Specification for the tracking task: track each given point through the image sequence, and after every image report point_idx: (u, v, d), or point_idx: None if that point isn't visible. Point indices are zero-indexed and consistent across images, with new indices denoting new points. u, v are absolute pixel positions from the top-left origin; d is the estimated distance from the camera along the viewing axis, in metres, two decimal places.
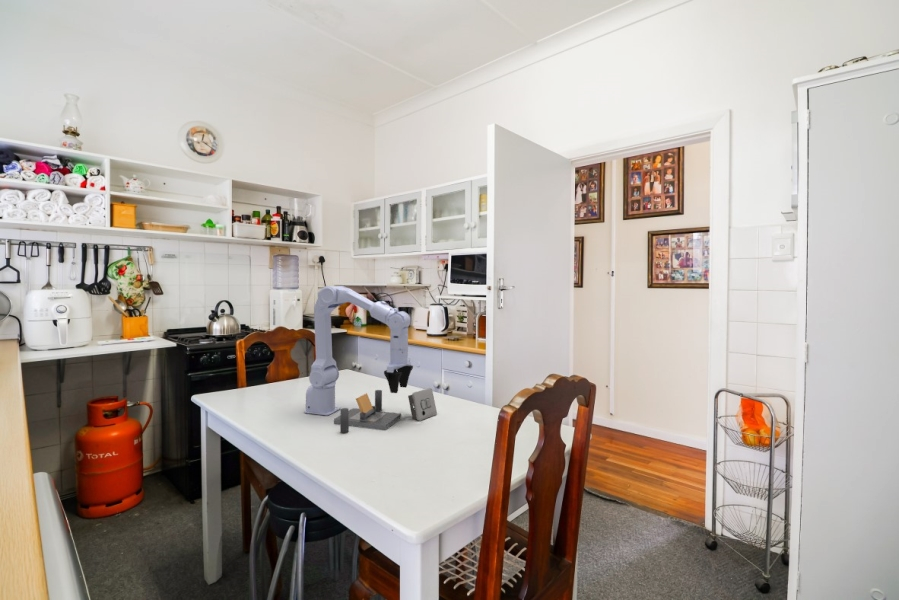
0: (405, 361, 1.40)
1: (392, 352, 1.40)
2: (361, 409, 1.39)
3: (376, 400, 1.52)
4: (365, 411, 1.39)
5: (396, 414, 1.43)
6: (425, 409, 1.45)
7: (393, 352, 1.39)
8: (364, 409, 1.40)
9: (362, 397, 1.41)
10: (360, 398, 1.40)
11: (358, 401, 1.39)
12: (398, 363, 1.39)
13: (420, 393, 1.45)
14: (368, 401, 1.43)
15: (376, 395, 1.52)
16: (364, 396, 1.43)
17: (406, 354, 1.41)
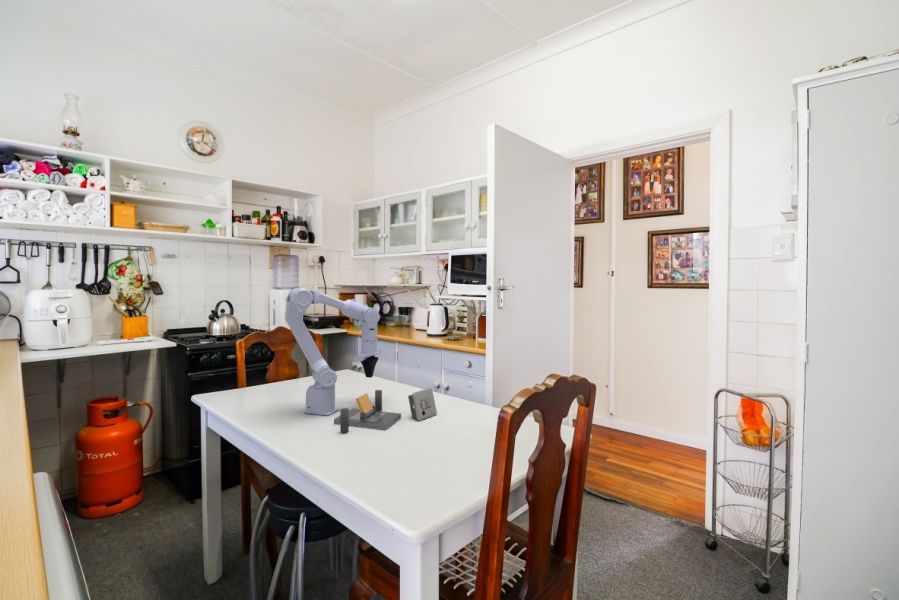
0: (374, 351, 1.57)
1: (363, 343, 1.56)
2: (361, 409, 1.39)
3: (376, 400, 1.52)
4: (365, 411, 1.39)
5: (396, 414, 1.43)
6: (425, 409, 1.45)
7: (363, 343, 1.56)
8: (364, 409, 1.40)
9: (362, 397, 1.41)
10: (360, 398, 1.40)
11: (358, 401, 1.39)
12: (368, 353, 1.55)
13: (420, 393, 1.45)
14: (368, 401, 1.43)
15: (376, 395, 1.52)
16: (364, 396, 1.43)
17: (375, 345, 1.57)
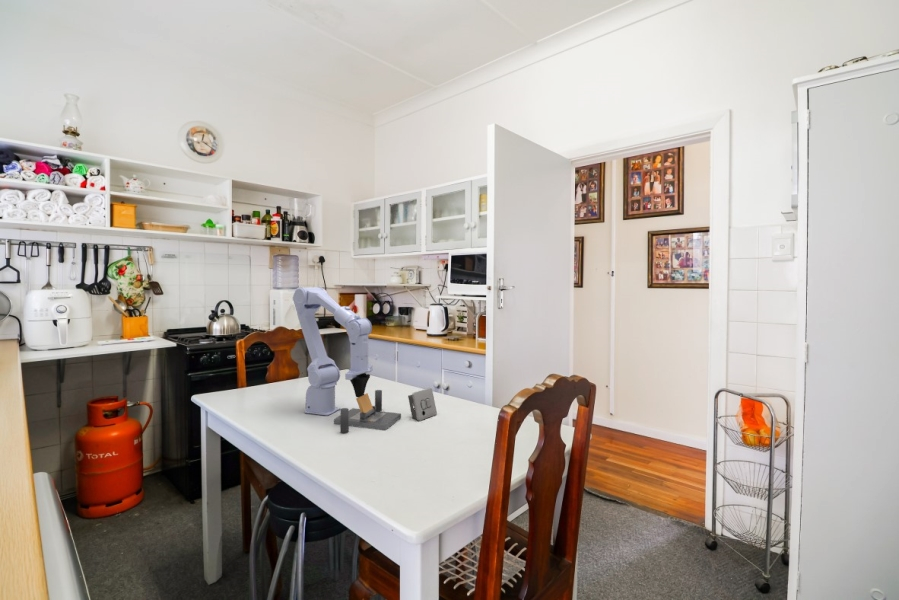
0: (365, 368, 1.40)
1: (352, 359, 1.39)
2: (361, 409, 1.39)
3: (376, 400, 1.52)
4: (365, 411, 1.39)
5: (396, 414, 1.43)
6: (425, 409, 1.45)
7: (353, 359, 1.39)
8: (364, 409, 1.40)
9: (362, 397, 1.41)
10: (360, 398, 1.40)
11: (358, 401, 1.39)
12: (358, 370, 1.39)
13: (420, 393, 1.45)
14: (368, 401, 1.43)
15: (376, 395, 1.52)
16: (364, 396, 1.42)
17: (366, 361, 1.40)
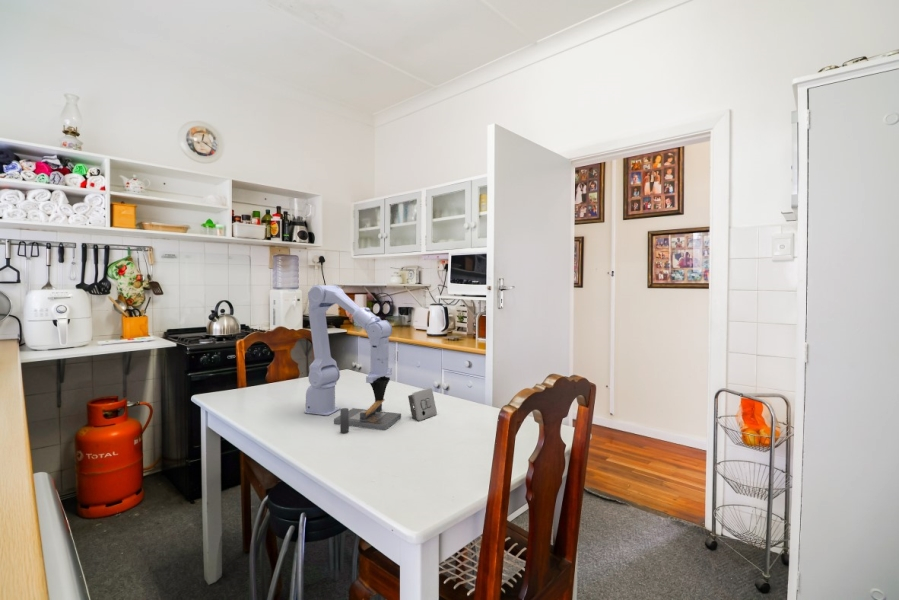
0: (385, 371, 1.38)
1: (372, 362, 1.37)
2: (368, 411, 1.38)
3: None
4: (368, 414, 1.39)
5: (396, 414, 1.43)
6: (425, 409, 1.45)
7: (373, 362, 1.37)
8: (369, 412, 1.39)
9: (379, 403, 1.40)
10: (377, 404, 1.38)
11: (373, 406, 1.37)
12: (378, 373, 1.37)
13: (420, 393, 1.45)
14: (378, 405, 1.42)
15: None
16: (380, 402, 1.41)
17: (386, 364, 1.38)
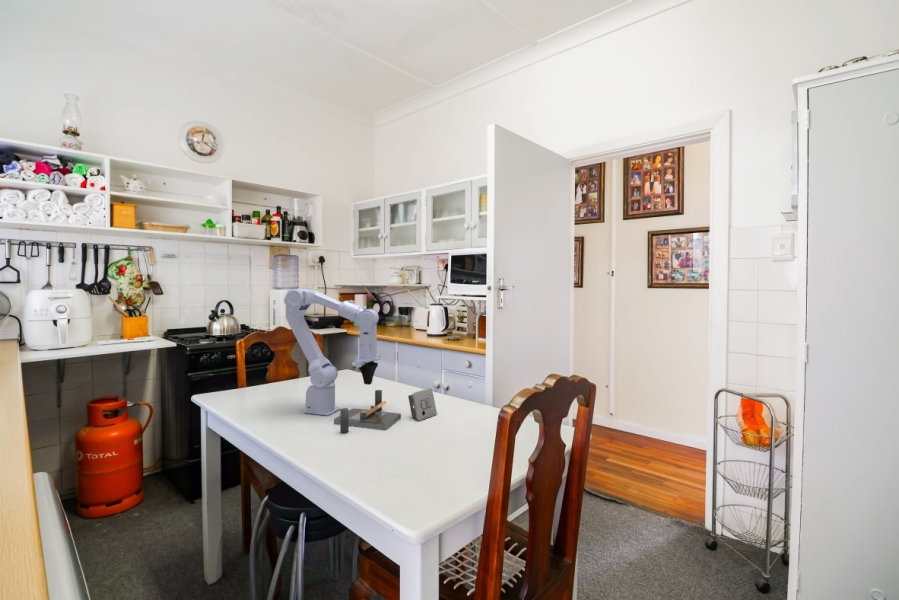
0: (373, 356, 1.46)
1: (361, 348, 1.46)
2: (369, 412, 1.38)
3: (376, 400, 1.52)
4: (368, 414, 1.39)
5: (396, 414, 1.43)
6: (425, 409, 1.45)
7: (362, 348, 1.46)
8: (370, 413, 1.39)
9: (380, 406, 1.39)
10: (379, 407, 1.38)
11: (375, 408, 1.37)
12: (366, 358, 1.45)
13: (420, 393, 1.45)
14: None
15: (376, 395, 1.52)
16: (382, 405, 1.41)
17: (374, 350, 1.47)
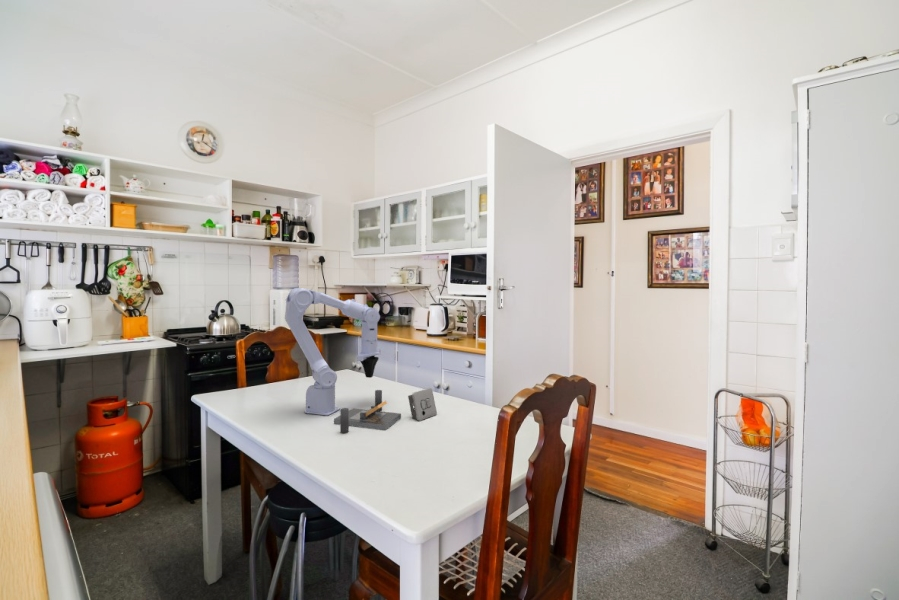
0: (374, 351, 1.57)
1: (363, 343, 1.56)
2: (369, 412, 1.38)
3: (376, 400, 1.52)
4: (368, 414, 1.39)
5: (396, 414, 1.43)
6: (425, 409, 1.45)
7: (363, 343, 1.56)
8: (370, 413, 1.39)
9: None
10: None
11: (375, 409, 1.37)
12: (368, 353, 1.55)
13: (420, 393, 1.45)
14: None
15: (376, 395, 1.52)
16: None
17: (375, 345, 1.57)
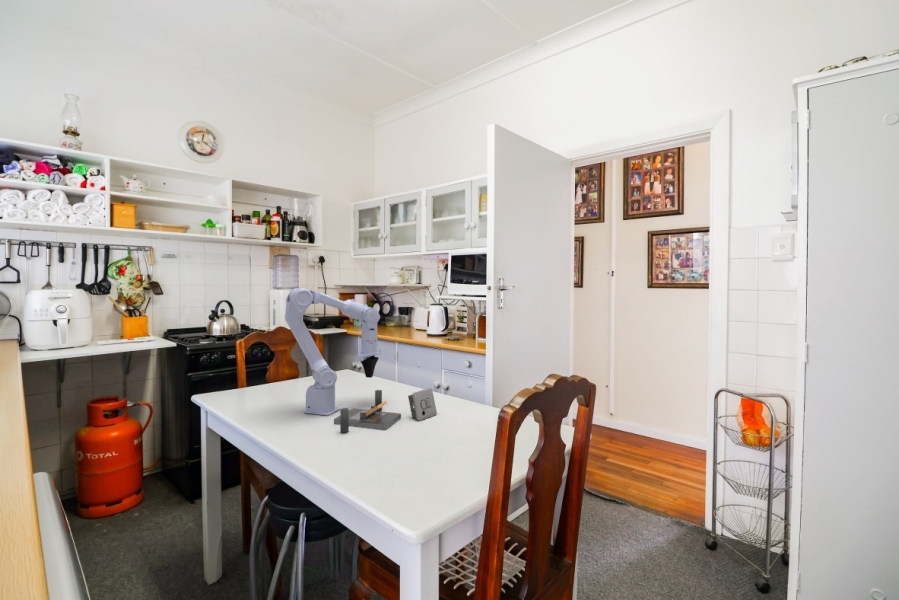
0: (374, 351, 1.57)
1: (363, 343, 1.56)
2: (369, 412, 1.38)
3: (376, 400, 1.52)
4: (368, 414, 1.39)
5: (396, 414, 1.43)
6: (425, 409, 1.45)
7: (363, 343, 1.56)
8: (370, 413, 1.39)
9: None
10: None
11: (375, 409, 1.37)
12: (368, 353, 1.55)
13: (420, 393, 1.45)
14: None
15: (376, 395, 1.52)
16: None
17: (375, 345, 1.57)
